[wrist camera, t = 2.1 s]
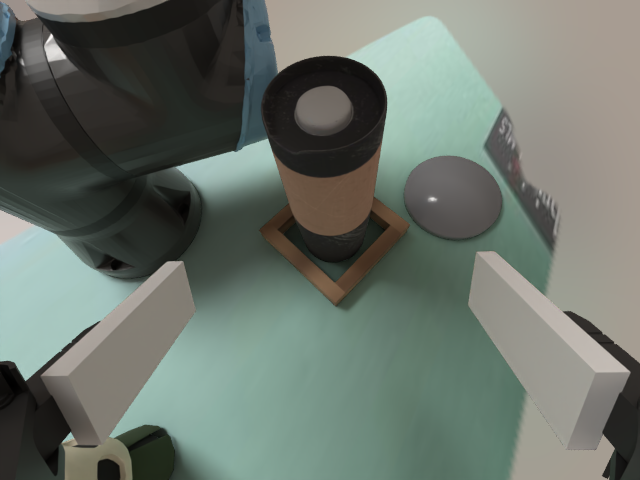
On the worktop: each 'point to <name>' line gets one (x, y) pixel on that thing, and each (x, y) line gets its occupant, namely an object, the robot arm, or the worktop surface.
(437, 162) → the slate coaster
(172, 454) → the character mug
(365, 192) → the travel mug
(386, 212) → the walnut frame
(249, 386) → the worktop surface
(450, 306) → the worktop surface
